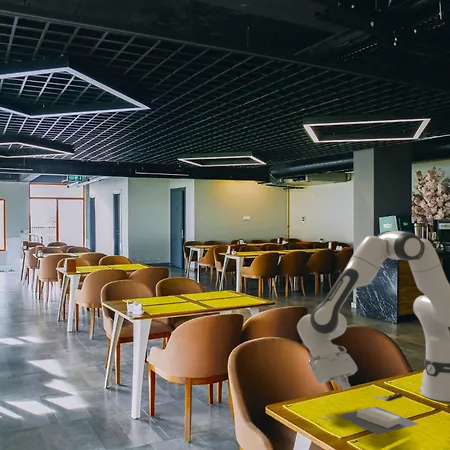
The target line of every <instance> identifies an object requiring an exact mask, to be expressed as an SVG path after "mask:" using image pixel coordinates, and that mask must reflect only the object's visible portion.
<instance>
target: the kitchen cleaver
mask: <svg viewBox="0 0 450 450" xmlns="http://www.w3.org/2000/svg"><path fill="white" fill-rule="evenodd" d="M372 396H373V397H372V398H376V399H379V400H382V401H386V402H389V401H391V400H394V399H398V398H400V397H401V398H402V396H403V394H402V393H401V392H395V393H394V394H393V393H392V394H391V395H388V396H378V395H377V396H376V395H372Z"/></svg>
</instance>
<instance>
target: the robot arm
mask: <svg viewBox="0 0 450 450" xmlns="http://www.w3.org/2000/svg"><path fill="white" fill-rule="evenodd" d="M387 259H391V260H395V261H399V260H401V261H406V262H408V265H409V267H410V271H411V273H412V275H413V278H414V282H415V284H416V287H417V289H418V290H419V291H420V292H421V293H422V294H424V295H419V296H418V297H416V298H415V300H414V302H413V304H412V305H413V306H412V310H413V313H414V314H415V316H416V317H417V318H418V320H419V322H420V324H421V326H422V330H423V334H424V339H425V357H424V361H423V362H424V363H423V364H424V365H423V366H424V368H425V369H424V370H423V372H422V379H421V381H422V382H421V386H419V391H421V392H420V394H421V395H422V396H424V398H425V397H426V398H427V399H430V400H434V401H438V402H450V329H449V328H450V283H449V281H448V279H447V276H446V275H445V274H446V273H445V272H444V269H443V266H442V263H441V261H440V258H439V255H438V253H437V252H436V250H435V247H434V246H433V244H432V242H431V241H429V240H428V239H426V238H420V237H419V236H417V234H415V233H413V232H408V231H401V230H394V231H393V230H386V231H383V232H381V233H379V234H377V235H367V236H366V237H365V238H364V239H363V240H362V241H361V242H360V243H359V245H358V246H357V248H356V249H355V251H354V252H353V254H352V256H351V257H350V260H349V261H348V263H347V265H346V267H345V268H344V270H343V272H342V273H341V274H340V275H339V277H338V278H337V279H336V281H335V282H334V284H333V286H332V287H331V288H330V290H329V292H328V293H327V295H326V297H324V300H323V301H322V302H320V304H318V305H317V306H315V307H314V309H313V310H312V311H311V313H309V314H306V315H304V316H303V317H301V318H300V319H299V320H298V323H297V325H296V329H297V332H298V334H299V337H300V339H301V341H302V342H303V343H304V345H305V346H306V347H307V348H308V350H309V352H310V356H311V357H310V358H309V360H308V361H309V362H308V365H309V366H310V370H311V372H312V374H313V376H314V378H315V380H316V382H318V384H325V383H327V382H331V381H334V383H335V384H336V385H338V386H339V387H340V388H341V389H342V390H343V391H345V390H349V389H350V388H351V384H350V383H349V379H348V378H349V377H350V376H353V375H355V373H357V372H358V366H357V364H356V362H355V361H354V360H353V358H352V357H351V356H350V354H349V353H347V349H346V348H345V347H344V346H342V345H341V346H340V345H337V344H333V343H332V340H334V339H336V338H338V337H340V336H342V335H343V334H344V333H346V331H347V328H348V320H347V319H346V317H345V316H344V314H342V313H341V312H340V310H341V308H342V307H343V305H344V303H345V302H346V301H347V300H348V297H349V295H350V294H351V293H352V292H353V291H354V290H355V289H357V288H360V287H366V286H368V285H370V284H371V283H372V282H373V280H374V279H375V277H376V276H377V274H378V273H379V271H380V269H381V267H382V265H383V263H384V262H385V261H386V260H387Z"/></svg>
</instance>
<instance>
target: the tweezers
mask: <svg viewBox="0 0 450 450" xmlns="http://www.w3.org/2000/svg"><path fill="white" fill-rule="evenodd" d="M324 416H325V417H327V418H329V419H332V420H334V418H332V417H331V416H329V415H326V414H324ZM317 418H318V419H320V420H324V421H327V422H329V420H328V419H326V418H324V417H320V416H317Z"/></svg>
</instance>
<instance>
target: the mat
mask: <svg viewBox="0 0 450 450" xmlns="http://www.w3.org/2000/svg"><path fill="white" fill-rule="evenodd" d="M371 408H374V409H377V410H380V411H383V412H386V413H389V414H392V415H395V416H398V417H400V423H399V424H397V425H395V426H392V427H390V428H388V429H387V428H385V427H382V426H379V425H376V424H374V423H371V422H368V421H365V420H362V419H360V418H358V417H357V411H358V410H355V411H350V412H346V413H340V414H337V416H338V417H341V418H342V419H344V420H346V421H348V422H350V423H352V424H354V425H356V426H358V427H361V428H363V429H364V430H367V431H369V432H371V433H373V434H375V435H379V434H380V435H381V434H385V433H388V432H391V431H396V430H400V429H404V428H408V427H411V426H415V425H419V423H417V422H415V421H413V420H411V419H408V418H407V417H406V418H405V417H403V416H401V415H399V414H396V413H394V412H392V411H389V410H387V409H384V408H382V407H380V406H373V407H372V406H371Z"/></svg>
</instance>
